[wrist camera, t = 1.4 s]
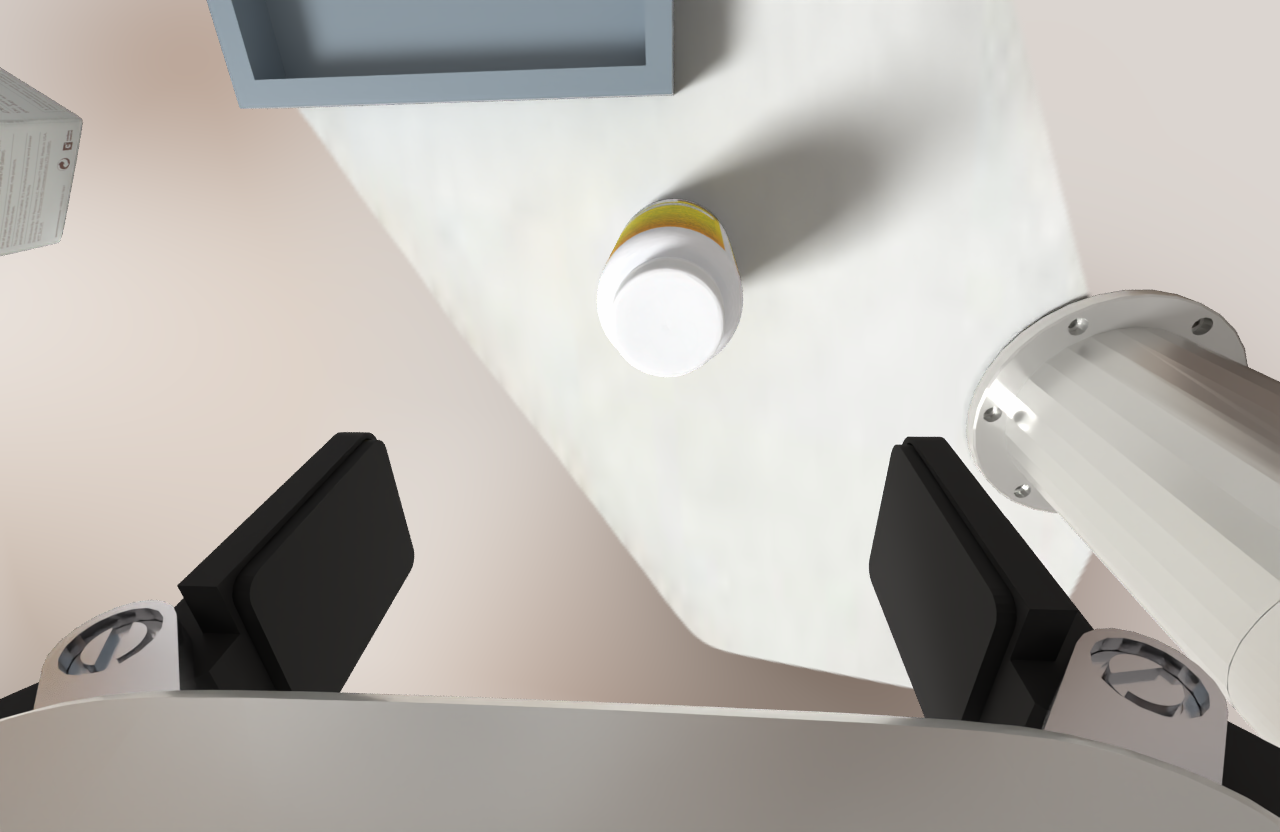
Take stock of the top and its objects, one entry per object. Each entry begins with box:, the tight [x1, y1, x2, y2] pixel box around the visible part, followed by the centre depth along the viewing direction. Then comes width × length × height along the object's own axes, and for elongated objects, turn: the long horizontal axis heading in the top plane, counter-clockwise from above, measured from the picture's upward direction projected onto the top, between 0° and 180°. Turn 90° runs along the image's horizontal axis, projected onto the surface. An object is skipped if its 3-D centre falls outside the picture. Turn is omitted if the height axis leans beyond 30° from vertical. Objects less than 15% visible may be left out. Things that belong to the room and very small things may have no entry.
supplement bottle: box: [597, 199, 743, 377], centre depth 24 cm, size 6×6×10 cm
